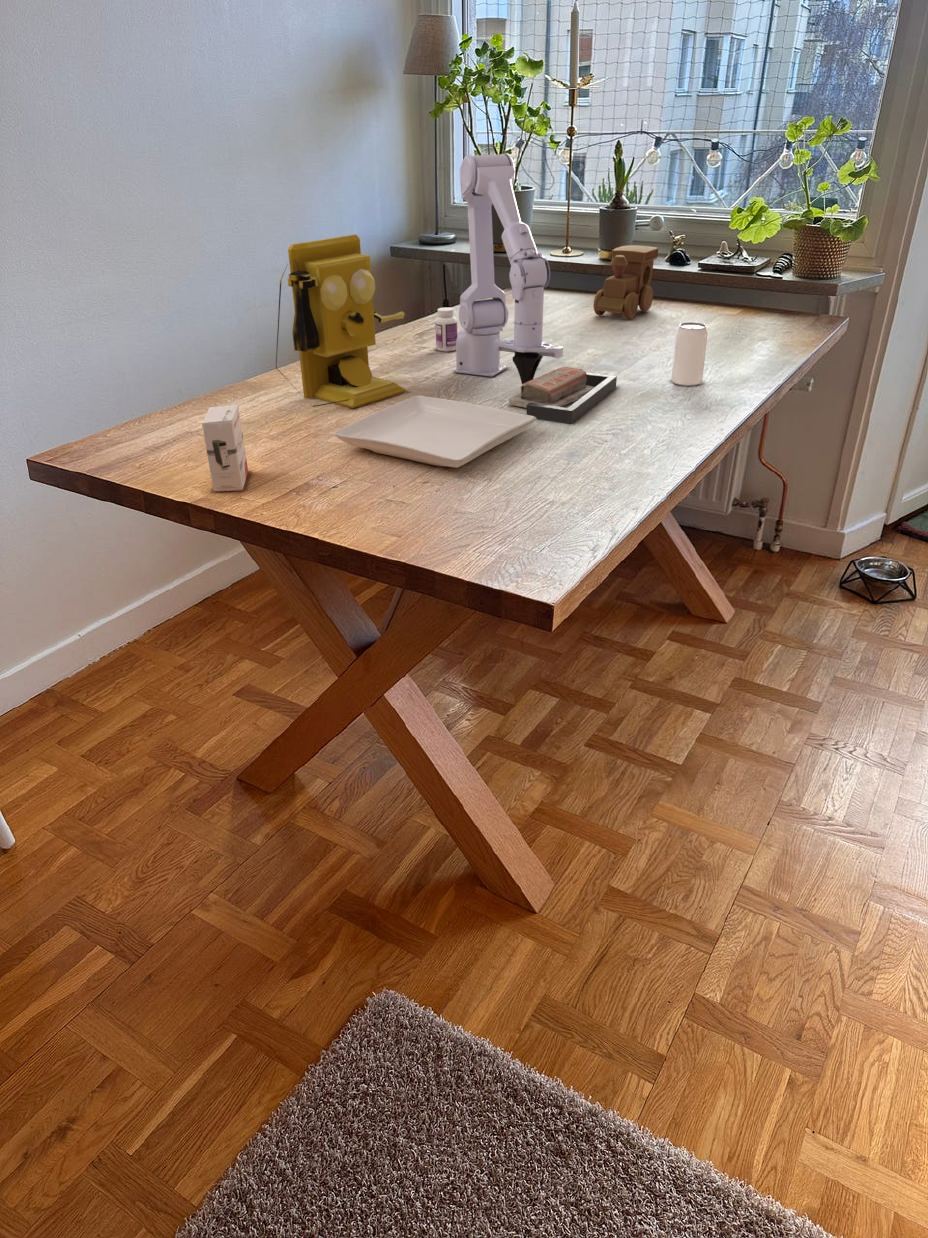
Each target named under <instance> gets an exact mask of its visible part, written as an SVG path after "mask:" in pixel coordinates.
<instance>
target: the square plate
mask: <svg viewBox="0 0 928 1238" xmlns="http://www.w3.org/2000/svg"><path fill="white" fill-rule="evenodd" d="M535 421H537V419H536V417H534V416H530V415H526V414H524V413H519V412H515V411H511V410H506V409H502V408H496V407H491V406H486V405H482V404H478V403H477V404H476V403H472V402H467V401H461V400H453V399H448V398H440V397H432V396H427V395H419V394H418V395H414V396H412V397H409V398H406V399H404V400H401V401H399V402H397V403H394V404H391V405H389V406H387V407H385V408H381V409H380V410H377V411H375V412H373V413H370V414H369V415H367V416H364V417H362V418H360V419H358V420H355V421H354V422H352V423H349V424H348V425H346V426H344V427H342V428H339V429H337V430H335V431H334V432H332V435H333V436H335V437H336V438H338V439H339V440H340V441H342V442H343V443H345V444H346V445H347V444H348V445H350V446H353V447H357V448H362V449H367V450H369V451H371V452H373V453H376V454H382V455H385V456H391V457H395V458H399V459H405V460H408V461H409V460H410V461H414V462H418V463H422V464H425V465H432V466H436V467H447V468H448V467H449V468H460V467H461V466H464V465H466V464H467V463H470V462H471V461H473V460H475V459H477V458H478V457H480V456H481V455H483V454H486V452H488V451H490V450H491V449H494V448H496V447H497V446H499V445H501V444H503V443H505V442H507V441H509V440H510V439H512V438H514V437H516V436H517V435H519V434H521V433H522V432H524V431H525V430H527V429H528V428H529V427H531V425H532V424H533V423H534V422H535Z"/></svg>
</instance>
